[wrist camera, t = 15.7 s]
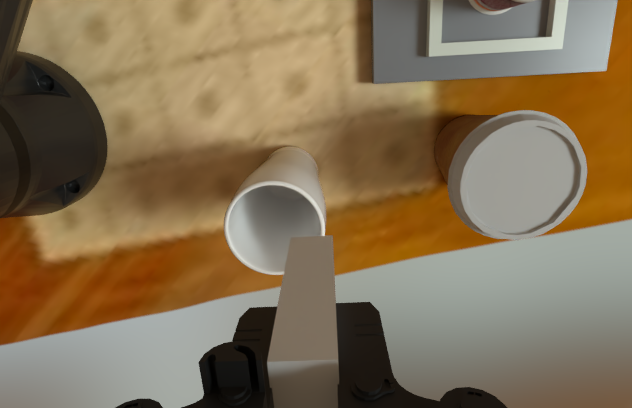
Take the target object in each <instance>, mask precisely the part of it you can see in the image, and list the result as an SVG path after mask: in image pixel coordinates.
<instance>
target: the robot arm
mask: <svg viewBox="0 0 632 408" xmlns="http://www.w3.org/2000/svg"><path fill="white" fill-rule="evenodd" d="M32 1H33V0H0V218H7V217H21V216H35V215H44V214H48V213H52V212H55V211H58V210H61V209H63V208H65V207H67V206H69V205H71V204H73V203H74V202H76V201H78V200H80V199H81V198H83V197H84V196H85V195H87V194H88V193H89V192H90V191H91V190H92V189H93V187H94V186H95V185H96V184H97V182H98V180H99V179H100V177H101V175H102V172H103V170H104V167H105V163H106V157H107V137H106V131H105V127H104V123H103V120H102V118H101V115H100V113H99V111H98V109H97V107H96V105H95V103H94V101H93V100H92V98H91V97H90V95H89V94H88V93H87V91H86V90H85V89H84V88H83V86H82V85H81V84H80V83H79V82H78V81H77V80H76V79H75V78H74V77H73V76H72V75H70V74H69V73H68V72H67V71H65V70H64V69H62V68H61V67H59V66H58V65H56V64H54V63H53V62H51V61H49V60H47V59H44V58H42V57H39V56H36V55H33V54H29V53H25V52H18V51H17V48H18V45H19V42H20V39H21V36H22V33H23V30H24V26H25V23H26V20H27V17H28V14H29V11H30V7H31V4H32ZM199 367H200V372H201V378H202V384H203V389H204V396H203V399H201V400H199V401H197V402H196V403H193V404H191V405H188V406H185V407H182V408H507V407H506V406H505V405H504V404H503V403H502V402H501V401H500V400H498V399H497V398H496V397H495V396H493V395H491V394H489V393H487V392H485V391H483V390H479V389H475V388H470V387H465V388H455V389H453V390H451V391H448V392H446V394H445V395H444V396H443V397H442V398H441V399H440V401H436V400H431V399H426V398H423V397H420V396H417V395H414V394H412V393H410V392H408V391H406V390H405V389H404V388H403V387H401V386H400V385H399V384H398V382H397V381H396V379H395V378H394V376H393V373H392V369H391V365H390V360H389V355H388V351H387V346H386V342H385V337H384V332H383V328H382V323H381V318H380V314H379V311H378V310H377V309H376V308H375V307H374V306H373V305H372V304H371V303H370V302H360V303H359V302H357V303H336V300H335V278H334V256H333V235H332V236H309V237H291V238H290V244H289V249H288V254H287V259H286V265H285V270H284V275H283V280H282V286H281V291H280V296H279V302H278V307H257V308H249V309H248V310H247V311H246V312H245V313H244V314H243V315H242V316H241V317H240V319H239V322H238V325H237V328H236V332H235V334H234V337H233V342H228V343H223V344H221V345H218V346H216V347H213V348H212V349H211V350H209V351H208V352H207V353H205V354H204V355H203V357H202V358H201V360H200V361H199ZM116 408H163V407H162V406H161V405H160V403H159V402H156V401H154V400H151V399H136V400H132V401H129V402H125V403H123V404H121V405H120V406H118V407H116Z"/></svg>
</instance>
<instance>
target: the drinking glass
mask: <svg viewBox="0 0 632 408" xmlns="http://www.w3.org/2000/svg"><path fill="white" fill-rule="evenodd" d="M318 175H319V174H318V167H317V164H316V162H315V160H314V158H313V157H312V156H311V155H310V154H309V153H308V152H307V151H305V150H303V149H301V148H298V147H292V146H289V147H283V148H280V149H278V150H276V151H274V152H273V153H272V154H271V155H270V156H269V157H268V159H267V160H266V161H265V162H264V163H263V164H262V165H260V166H259V167H258V168H257V169H256V170H255V171H253V172H252V173H251V174H250V175H249V176H248V177H247V178H246V179H245V180H244V182H243V183H242V184H241V185H240V187H239V188H238V190H237V191H236V193H235V194H234V196H233V198H232V200H231V202H230V204H229V206H228V208H227V211H226V214H225V218H224V234H225V238H226V241H227V244H228V246H229V248H230V250H231V251H232V253H233V254H234V255H235V256H236V258H237V259H238V260H239V261H240V262H242V263H243V264H244V265H246V266H247V267H249V268H251V269H253V270H255V271H257V272H260V273H264V274H270V275H283V274H284V270H285V265H286V259H287V254H288V249H289V244H290V238H291V237H309V236H325V229H326V203H325V198H324V194H323V190H322V187H321V183H320V180H319V176H318Z"/></svg>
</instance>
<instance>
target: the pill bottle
mask: <svg viewBox="0 0 632 408" xmlns="http://www.w3.org/2000/svg"><path fill="white" fill-rule="evenodd" d="M473 1H474V3H475V4H476V5H478V6H479V7H480V8H482V9H484V10H487V11H501V10H505V9H508V8H511V7H515V6H518V5H522V4H525V3H528V2H532V1H535V0H473Z"/></svg>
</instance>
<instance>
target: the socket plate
mask: <svg viewBox="0 0 632 408" xmlns="http://www.w3.org/2000/svg"><path fill="white" fill-rule="evenodd" d="M616 7H617V0H535V1H532V2H528V3H525V4H522V5H518V6H515V7H511V8H508V9H505V10H501V11H487V10H484V9H482V8H480V7H479V6H478V5H476V4H475V3H474V1H473V0H371V27H372V83H373V84H379V83H397V82H415V81H433V80H451V79H469V78H486V77H504V76H522V75H540V74H558V73H576V72H594V71H606V69H607V63H608V56H609V50H610V44H611V38H612V31H613V25H614V19H615V13H616Z"/></svg>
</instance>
